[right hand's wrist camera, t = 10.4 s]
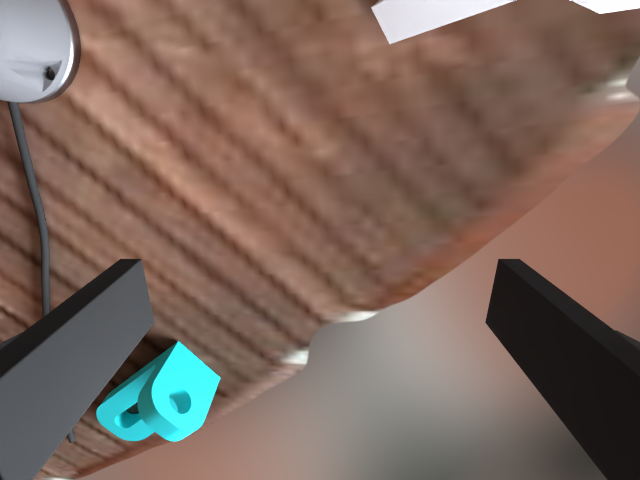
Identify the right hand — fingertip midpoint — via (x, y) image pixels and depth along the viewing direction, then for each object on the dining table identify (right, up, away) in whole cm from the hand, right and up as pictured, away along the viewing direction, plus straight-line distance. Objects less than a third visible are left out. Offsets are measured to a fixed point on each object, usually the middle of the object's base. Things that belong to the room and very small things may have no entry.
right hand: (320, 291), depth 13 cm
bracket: (-27, -23, +45) cm, 57 cm away
